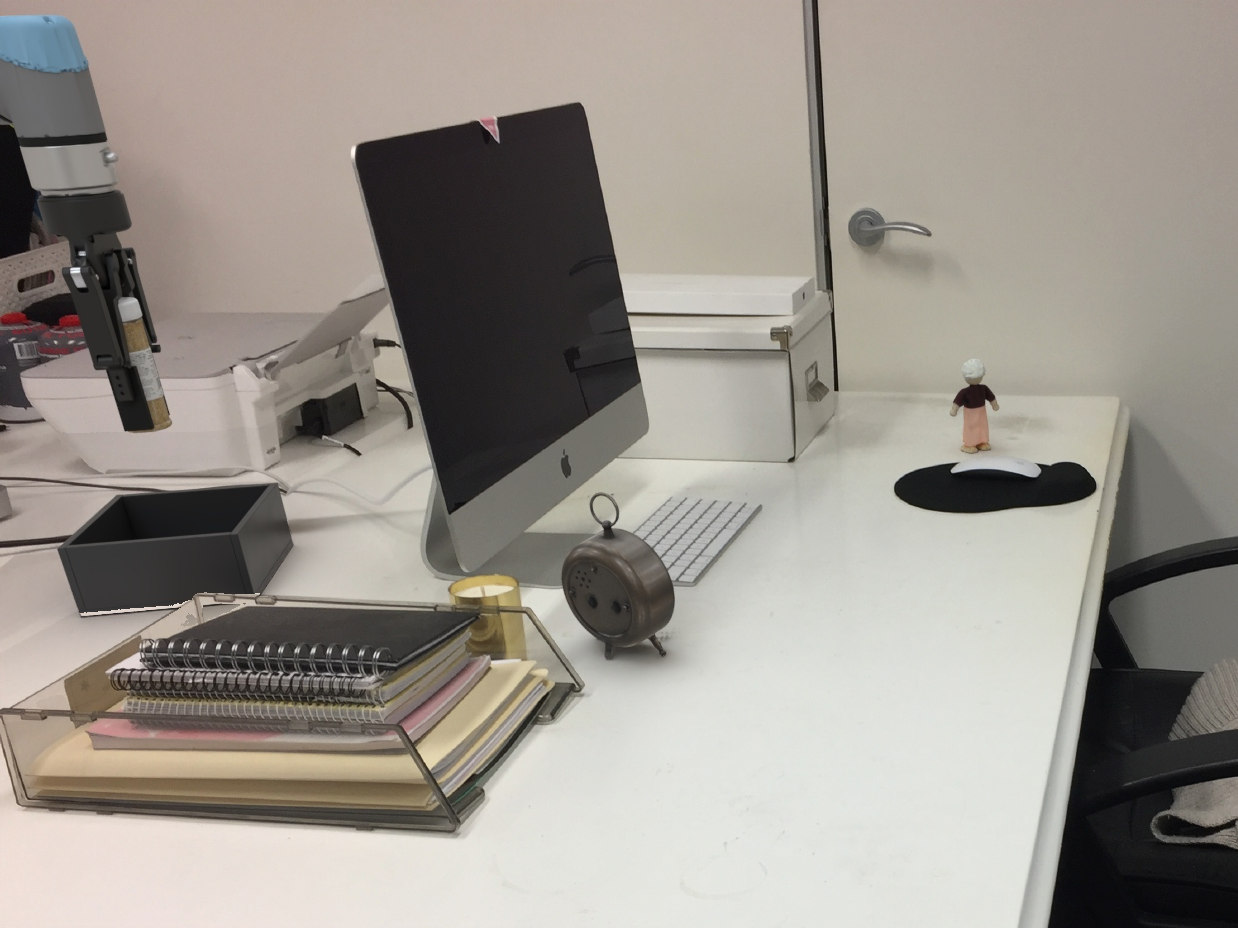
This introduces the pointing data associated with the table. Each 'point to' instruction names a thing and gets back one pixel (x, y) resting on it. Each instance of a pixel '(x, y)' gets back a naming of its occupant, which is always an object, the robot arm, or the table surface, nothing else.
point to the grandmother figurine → (974, 407)
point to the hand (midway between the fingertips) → (147, 422)
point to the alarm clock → (618, 586)
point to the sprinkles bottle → (143, 362)
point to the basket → (177, 547)
